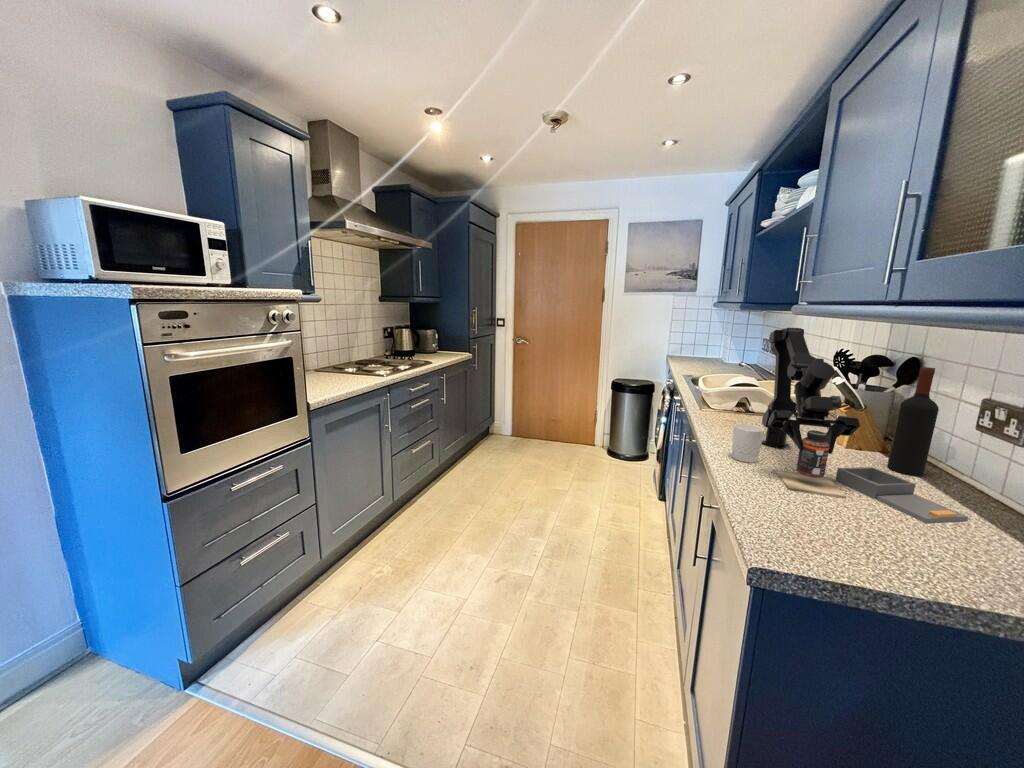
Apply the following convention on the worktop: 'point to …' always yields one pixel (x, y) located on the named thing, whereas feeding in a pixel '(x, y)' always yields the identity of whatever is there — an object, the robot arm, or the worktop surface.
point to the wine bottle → (914, 429)
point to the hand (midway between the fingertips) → (815, 451)
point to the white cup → (747, 442)
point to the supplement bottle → (813, 454)
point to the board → (809, 484)
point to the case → (896, 494)
